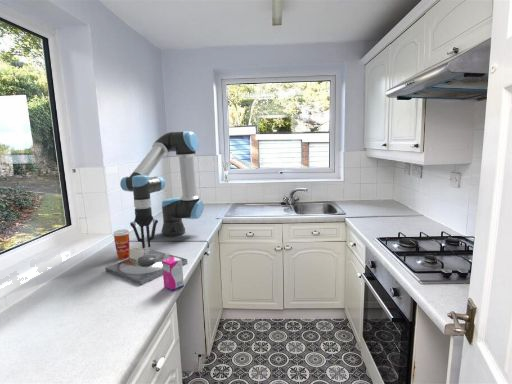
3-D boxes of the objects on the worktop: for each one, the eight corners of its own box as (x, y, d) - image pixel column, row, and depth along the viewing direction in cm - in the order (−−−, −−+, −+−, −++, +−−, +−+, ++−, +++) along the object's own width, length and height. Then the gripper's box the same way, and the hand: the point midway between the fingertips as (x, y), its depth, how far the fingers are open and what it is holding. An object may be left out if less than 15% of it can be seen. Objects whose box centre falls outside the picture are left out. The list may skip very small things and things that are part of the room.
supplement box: (175, 281, 124) (173, 255, 122) (184, 285, 120) (182, 259, 118) (163, 287, 119) (161, 260, 118) (172, 291, 116) (170, 263, 114)
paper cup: (114, 260, 149) (111, 234, 146) (117, 255, 156) (114, 229, 154) (130, 258, 151) (128, 232, 148) (132, 253, 158) (130, 228, 156)
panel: (152, 253, 157) (152, 248, 157) (187, 263, 143) (187, 258, 143) (105, 271, 136) (105, 266, 136) (141, 284, 122) (140, 279, 121)
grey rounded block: (159, 260, 140) (158, 249, 140) (145, 266, 134) (144, 255, 133) (139, 255, 148) (138, 244, 147) (125, 260, 141) (123, 249, 141)
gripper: (128, 210, 137) (133, 258, 140) (157, 207, 142) (161, 254, 146) (128, 207, 143) (132, 253, 147) (156, 204, 149) (159, 249, 152)
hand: (147, 253), depth 146 cm, fingers closed
